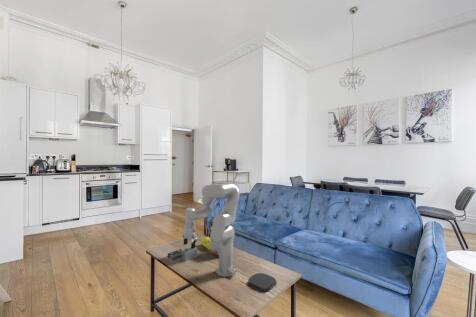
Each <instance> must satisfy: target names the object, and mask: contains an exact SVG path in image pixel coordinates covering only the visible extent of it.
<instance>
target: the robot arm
mask: <svg viewBox="0 0 476 317" xmlns="http://www.w3.org/2000/svg"><path fill="white" fill-rule="evenodd" d="M201 195H202V197H201V203H202V204H203V207H200V208H197V209H196V208H195V207H187V208H186V209H185V213H184V214H185V218H184V229H183V232H182V237H183V245H188V242H189V241H191V246H190V247H191V249H193V248H195V247H196V242H197V240H198V238H197V228H196V221H199V220H201V219H205V218H206V217H208V216H209V215H210V213H211V211H212V209H213V204H214V202H215V201H216V199H218V198H225V197H227V198H226V201H225V202H224V207H223V210H222V211H219V212H217V213H216V214H215V215H214V217H213V221H212V226H211V227H212V232H211V238H212V241H213V242H214V243H216V244H219V256H218V267H217V269H216V271H215V273H216V275H218V276H219V277H223V278H224V277H225V278H227V277H228V278H229V277H232V276H235V275H236V272H237V270H236V269H235V266H234V264H233V262H234V259H233V258H234V256H233V255H234V240H235V228H234V227H233V225H231V224H234V223H235V220H236V215H237V212H238V211H237V210H238V204H239V200H240V190H239V188H238V186H237V185H236V184H235V183H232V182H231V183H229V182H228V183H220V184H216V183H213V184H206V185H204V186H202V189H201Z"/></svg>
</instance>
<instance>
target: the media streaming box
mask: <svg viewBox="0 0 476 317" xmlns="http://www.w3.org/2000/svg"><path fill="white" fill-rule="evenodd" d="M247 284H248V286H249V287H251V288H252V289H256V290H258V291H260V292H262V293H268V292H270V291H271V290H272V289H273V288H274V287H275V286H276V285H277V280H276V278H275V277H273V276H272V275H269V274H267V273H263V272H261V273H259V272H257V273H255V274H253V275H251V276H250V277H249V278H248V281H247Z"/></svg>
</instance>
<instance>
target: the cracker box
mask: <svg viewBox="0 0 476 317" xmlns="http://www.w3.org/2000/svg"><path fill="white" fill-rule="evenodd" d="M209 230H210V231H209V232H210V233H209V234H210V237H209V238H210V250H209V253H210V254H211V255H215V256H218V257H219V244H216V243H214V242H213V241H212V238H211V232H212V226H211V227H210V229H209Z"/></svg>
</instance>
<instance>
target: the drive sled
mask: <svg viewBox="0 0 476 317" xmlns="http://www.w3.org/2000/svg"><path fill="white" fill-rule="evenodd" d="M182 250H183V249H182V248H180V249H176V250H173V251H170V252H168V253H167V257H168V258H170V259H171V260H173V261H176V260H179V259H180V258H181V259H182Z"/></svg>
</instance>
